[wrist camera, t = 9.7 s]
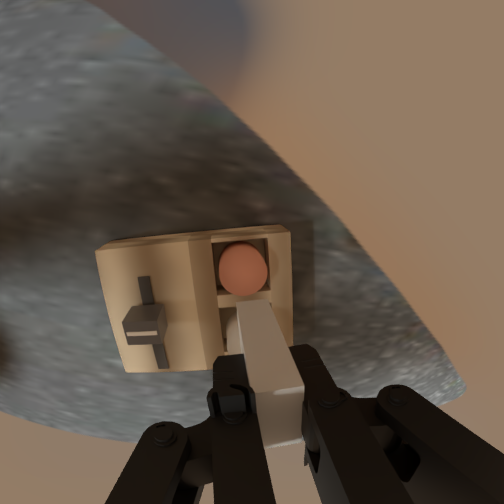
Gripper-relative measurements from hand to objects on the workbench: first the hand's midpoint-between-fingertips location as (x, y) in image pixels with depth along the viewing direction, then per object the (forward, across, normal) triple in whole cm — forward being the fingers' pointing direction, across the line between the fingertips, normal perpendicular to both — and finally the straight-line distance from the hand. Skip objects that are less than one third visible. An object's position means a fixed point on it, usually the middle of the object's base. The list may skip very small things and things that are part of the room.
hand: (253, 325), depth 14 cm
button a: (+12, 0, 0) cm, 12 cm away
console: (+14, -4, -4) cm, 15 cm away
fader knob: (+9, -8, -3) cm, 13 cm away
